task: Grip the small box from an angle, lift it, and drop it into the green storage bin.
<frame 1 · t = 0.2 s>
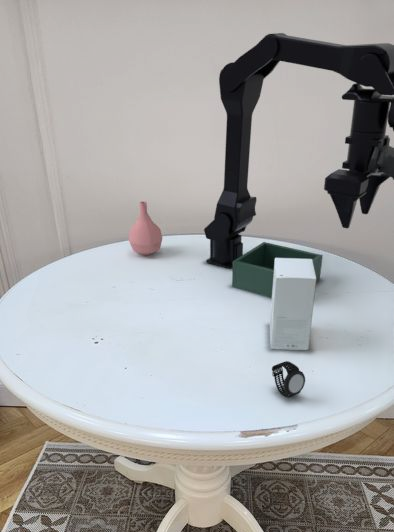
hand: (355, 220, 98), 15 cm above the table, tool pointing down, fingers open, 9 cm apart
small box: (288, 338, 91), on the table
green storage bin: (276, 283, 109), on the table
smartwatch: (287, 393, 78), on the table
pink vase: (146, 254, 125), on the table
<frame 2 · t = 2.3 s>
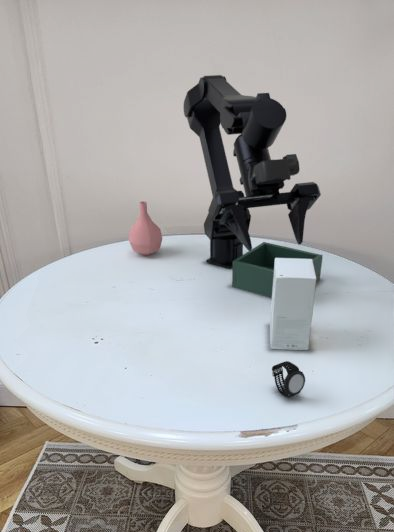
hand: (275, 246, 91), 13 cm above the table, tool tilted 45°, fingers open, 9 cm apart
nothing on the table moved.
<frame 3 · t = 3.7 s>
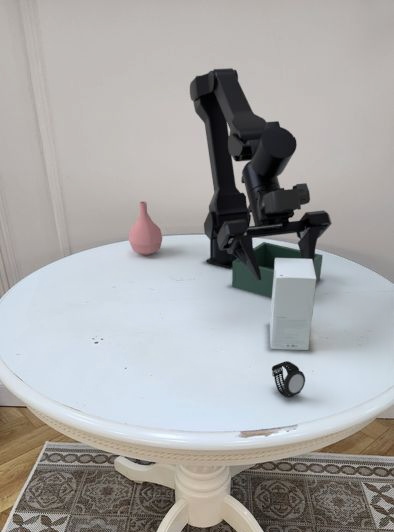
hand: (285, 277, 88), 10 cm above the table, tool tilted 45°, fingers open, 9 cm apart
nothing on the table moved.
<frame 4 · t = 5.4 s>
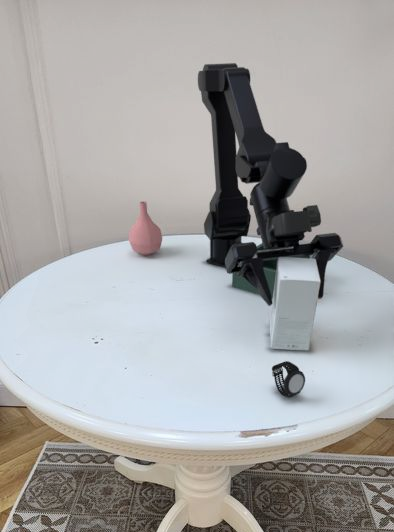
hand: (295, 301, 85), 8 cm above the table, tool tilted 50°, fingers closed on small box, 8 cm apart
small box: (288, 337, 91), on the table, touching gripper
everything else where it was.
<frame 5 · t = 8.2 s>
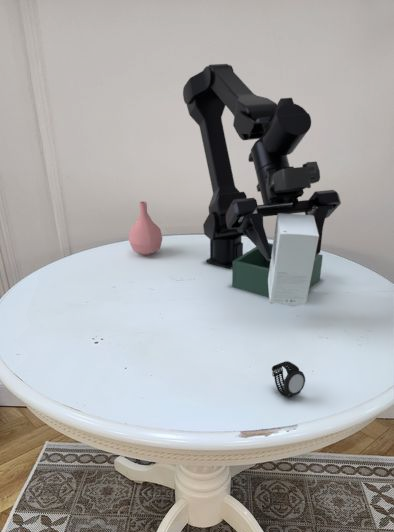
hand: (294, 256, 88), 13 cm above the table, tool tilted 45°, fingers closed on small box, 8 cm apart
small box: (286, 293, 94), point 5 cm above the table, touching gripper
everything else where it was.
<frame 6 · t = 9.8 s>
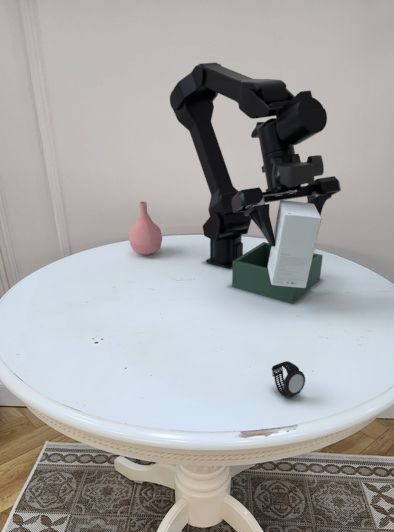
hand: (294, 242, 95), 12 cm above the table, tool tilted 30°, fingers closed on small box, 8 cm apart
small box: (285, 278, 98), point 6 cm above the table, touching gripper, green storage bin
everything else where it was.
when the fingers open (12 cm above the table, at t = 11.3 s): small box stays where it is, resting on green storage bin.
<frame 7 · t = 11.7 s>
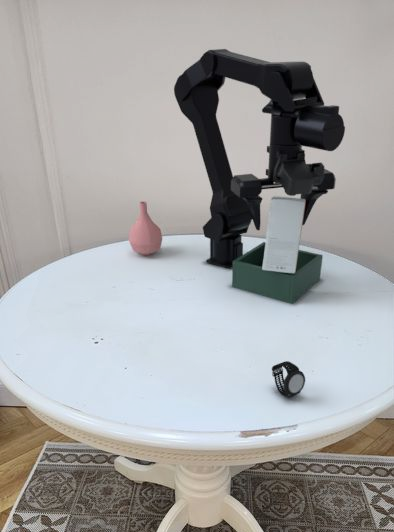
hand: (280, 227, 103), 12 cm above the table, tool pointing down, fingers open, 9 cm apart
small box: (279, 269, 103), point 5 cm above the table, touching gripper, green storage bin
everything else where it was.
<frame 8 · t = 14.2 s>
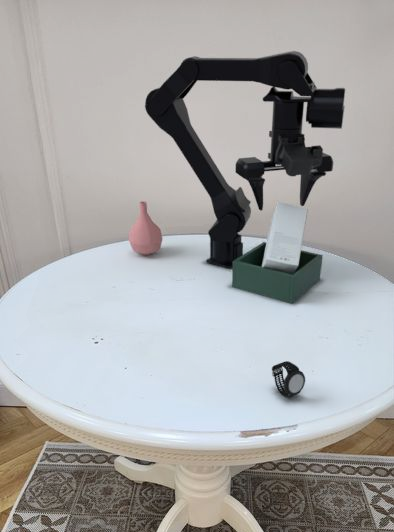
hand: (281, 207, 110), 13 cm above the table, tool pointing down, fingers open, 9 cm apart
small box: (278, 273, 103), point 4 cm above the table, touching green storage bin
everything else where it was.
at the end: small box inside the target area in the green storage bin (4.3 cm from its centre), point 4.2 cm above the green storage bin's base; the gripper is holding nothing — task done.
